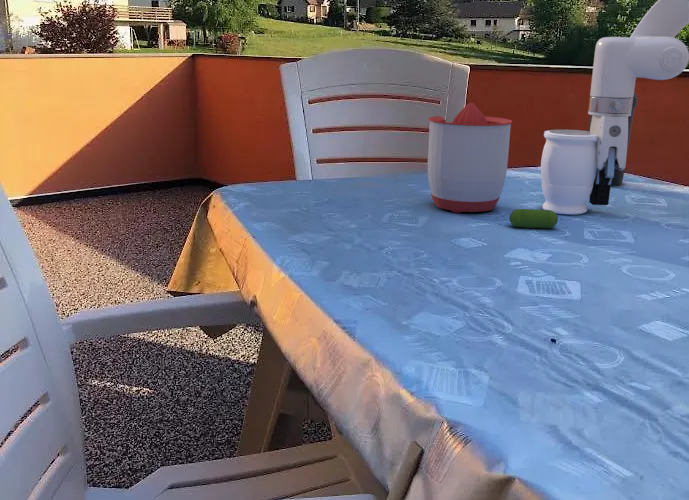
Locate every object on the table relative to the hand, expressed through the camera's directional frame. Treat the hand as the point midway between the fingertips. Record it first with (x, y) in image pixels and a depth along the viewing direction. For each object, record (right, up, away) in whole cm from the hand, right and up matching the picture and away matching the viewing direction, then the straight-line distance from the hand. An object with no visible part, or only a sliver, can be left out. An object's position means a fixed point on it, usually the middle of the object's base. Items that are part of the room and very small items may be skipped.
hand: (598, 203), depth 136 cm
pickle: (-16, -5, -12) cm, 20 cm away
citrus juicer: (-26, 0, +3) cm, 26 cm away
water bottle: (+12, +7, +29) cm, 32 cm away
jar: (-6, -1, +1) cm, 6 cm away
